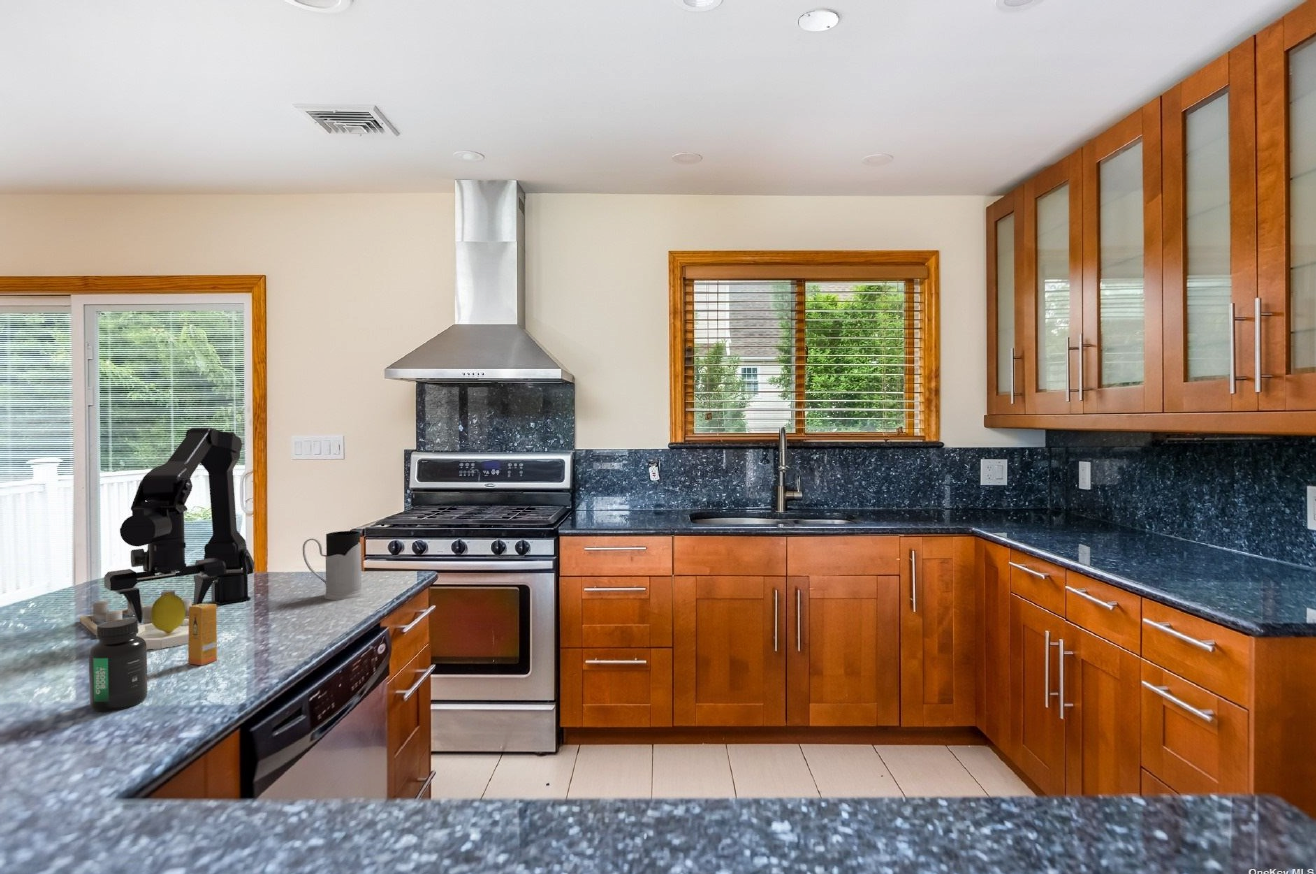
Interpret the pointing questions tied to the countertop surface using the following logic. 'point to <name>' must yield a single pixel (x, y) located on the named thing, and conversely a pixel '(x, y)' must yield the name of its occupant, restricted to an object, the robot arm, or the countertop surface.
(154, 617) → the lemon
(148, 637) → the dish
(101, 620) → the spacer field
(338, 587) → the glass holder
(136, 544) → the robot arm
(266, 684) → the countertop surface
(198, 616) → the supplement box
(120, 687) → the supplement bottle
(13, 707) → the countertop surface
